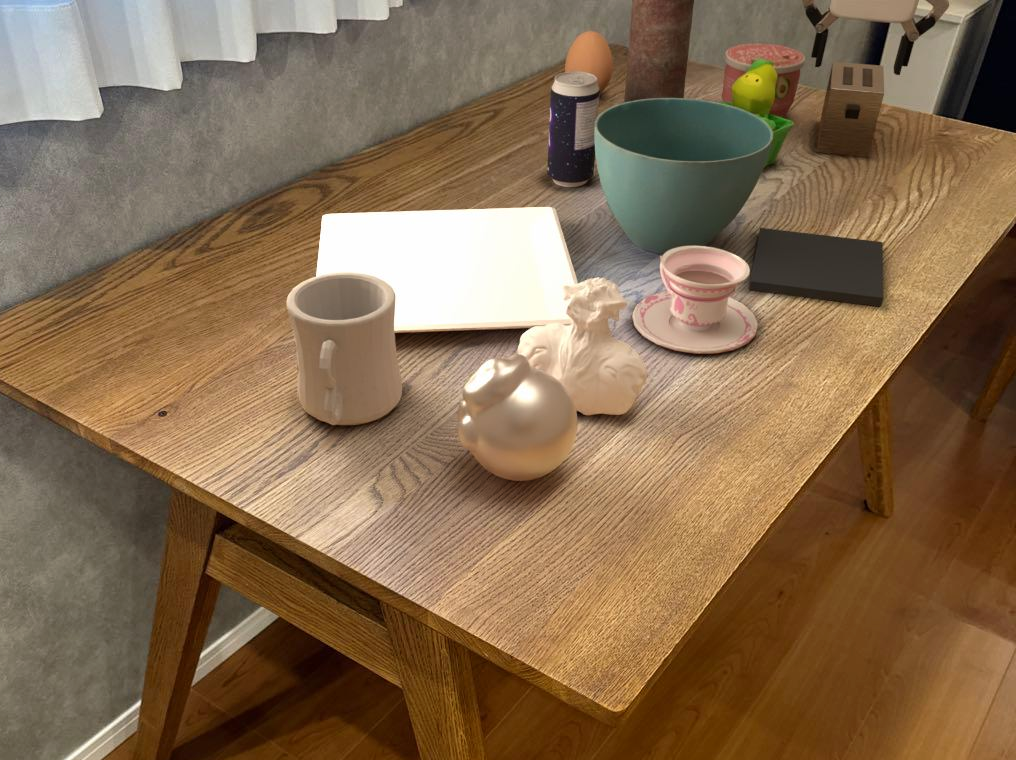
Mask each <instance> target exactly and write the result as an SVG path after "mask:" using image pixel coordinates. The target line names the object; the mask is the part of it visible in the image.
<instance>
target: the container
mask: <svg viewBox="0 0 1016 760" xmlns="http://www.w3.org/2000/svg"><path fill="white" fill-rule="evenodd" d="M758 59H764V60H766V61H772V62H773V63H774V64H773V67H774V69H775V71H776V73H777V81H776V86H775V98H774V102H773V105H772V107H771V109H770V111H769V114H772V115H775V116H778V117H781V118H784V116H785V115H786V114H788V113H789V111H790V110H791V107H792V106H793V104H794V101H795V98H796V94H797V90H798V85H799V81H800V77H801V69H802V68H804V66H805V62H806V56H805V55H804V53H802V52H801V51H800V50H797V49H795V48H792V47H788V46H784V45H779V44H773V43H772V44H771V43H745V44H738V45H735V46H732V47H730V48H728V49H727V50H726V51H725V54H724V62H725V63H726V64H725V67H724V73H723V84H722V85H723V86H722V92H721V93H722V94H721V99H722V102H729V103H733V99H732V85H733V84H734V83H735V81H736V80H737V79H738V78H739V77H741V76H742V75H744V74H745V73H746V70H747V69H749V68H750V66H751V65H752V64H753V63H754V62H755V61H756V60H758Z"/></svg>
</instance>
